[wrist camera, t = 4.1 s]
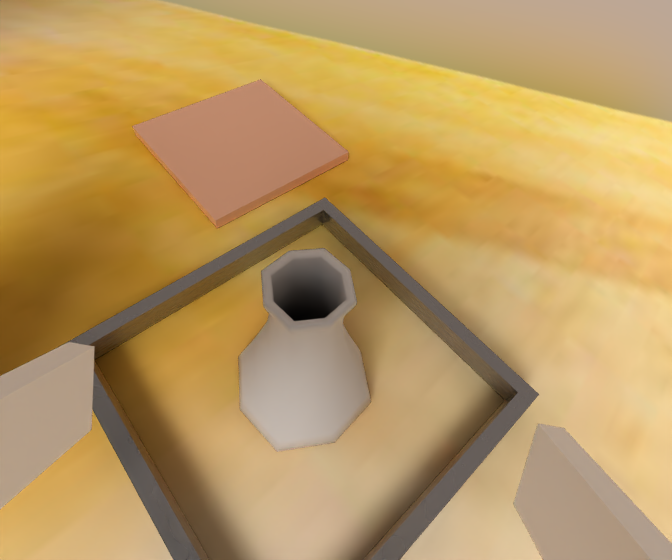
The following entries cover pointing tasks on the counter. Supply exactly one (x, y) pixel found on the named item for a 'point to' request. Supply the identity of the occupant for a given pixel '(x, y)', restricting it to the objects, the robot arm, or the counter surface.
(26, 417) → the robot arm
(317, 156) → the terracotta tile
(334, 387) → the flask
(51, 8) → the counter surface
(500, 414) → the steel frame
